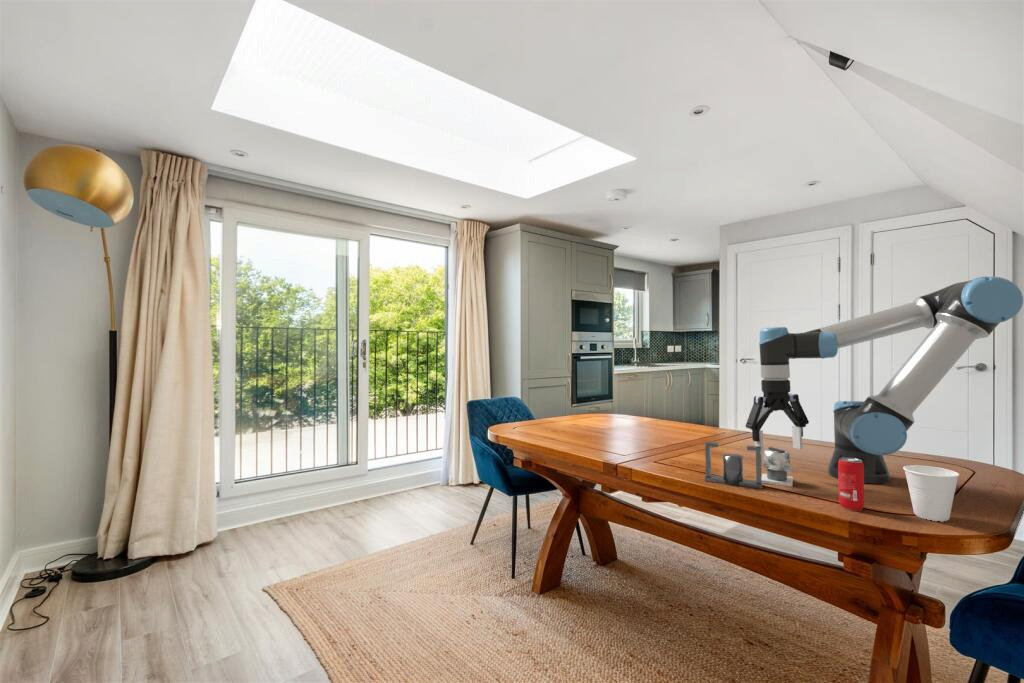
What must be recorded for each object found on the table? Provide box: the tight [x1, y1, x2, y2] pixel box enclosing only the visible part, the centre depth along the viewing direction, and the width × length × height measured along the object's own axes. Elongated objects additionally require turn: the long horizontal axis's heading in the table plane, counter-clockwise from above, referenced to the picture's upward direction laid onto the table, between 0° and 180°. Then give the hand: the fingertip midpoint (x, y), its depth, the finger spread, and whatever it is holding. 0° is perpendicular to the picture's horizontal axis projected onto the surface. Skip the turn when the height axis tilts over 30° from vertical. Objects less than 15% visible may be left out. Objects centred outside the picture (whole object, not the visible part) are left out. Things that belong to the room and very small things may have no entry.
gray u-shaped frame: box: [704, 441, 764, 489], centre depth 138 cm, size 15×5×11 cm, turn 58°
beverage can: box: [837, 457, 865, 512], centre depth 117 cm, size 5×5×12 cm
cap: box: [761, 446, 794, 474], centre depth 139 cm, size 11×7×6 cm, turn 13°
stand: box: [762, 468, 794, 488], centre depth 139 cm, size 8×8×4 cm
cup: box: [902, 464, 960, 523], centre depth 110 cm, size 10×10×11 cm
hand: (778, 450), depth 139 cm, fingers open, 13 cm apart
